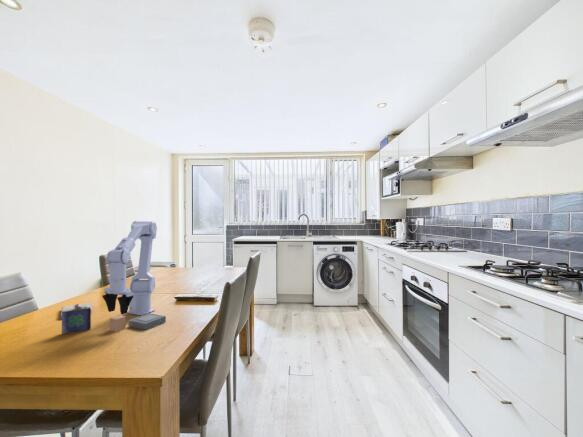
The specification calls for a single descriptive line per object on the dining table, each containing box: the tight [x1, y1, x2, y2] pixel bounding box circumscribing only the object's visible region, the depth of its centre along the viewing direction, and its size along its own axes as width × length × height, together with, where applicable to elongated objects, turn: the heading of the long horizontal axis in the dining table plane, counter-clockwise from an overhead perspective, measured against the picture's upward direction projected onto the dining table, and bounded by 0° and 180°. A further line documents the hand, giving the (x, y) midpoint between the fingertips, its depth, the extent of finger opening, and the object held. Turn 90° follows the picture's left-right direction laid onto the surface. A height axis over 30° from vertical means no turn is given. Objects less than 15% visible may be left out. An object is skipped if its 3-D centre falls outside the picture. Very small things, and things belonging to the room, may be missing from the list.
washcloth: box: [60, 302, 93, 321], centre depth 134 cm, size 12×18×3 cm, turn 40°
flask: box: [61, 303, 92, 335], centre depth 111 cm, size 9×3×11 cm, turn 121°
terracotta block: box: [109, 314, 127, 333], centre depth 113 cm, size 4×4×5 cm
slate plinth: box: [128, 312, 167, 331], centre depth 118 cm, size 10×10×3 cm
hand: (117, 312), depth 113 cm, fingers open, 7 cm apart
